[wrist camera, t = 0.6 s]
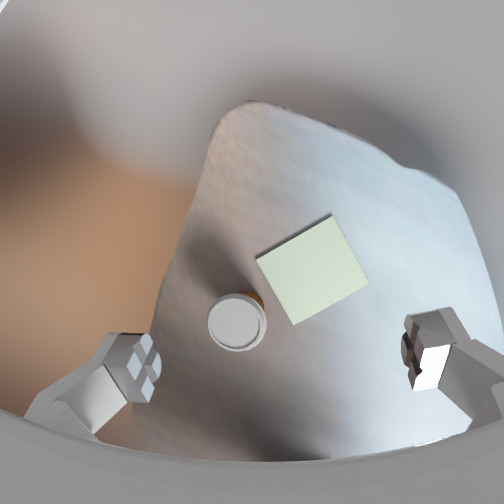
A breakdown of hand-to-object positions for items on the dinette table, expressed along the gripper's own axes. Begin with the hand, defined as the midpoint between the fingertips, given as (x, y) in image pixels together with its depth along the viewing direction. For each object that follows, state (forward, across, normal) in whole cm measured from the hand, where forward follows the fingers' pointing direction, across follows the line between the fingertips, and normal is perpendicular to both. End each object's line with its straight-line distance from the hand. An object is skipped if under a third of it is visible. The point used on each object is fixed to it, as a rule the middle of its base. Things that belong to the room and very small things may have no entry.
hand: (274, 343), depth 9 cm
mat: (+43, +2, -24) cm, 49 cm away
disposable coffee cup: (+41, -10, -29) cm, 51 cm away
